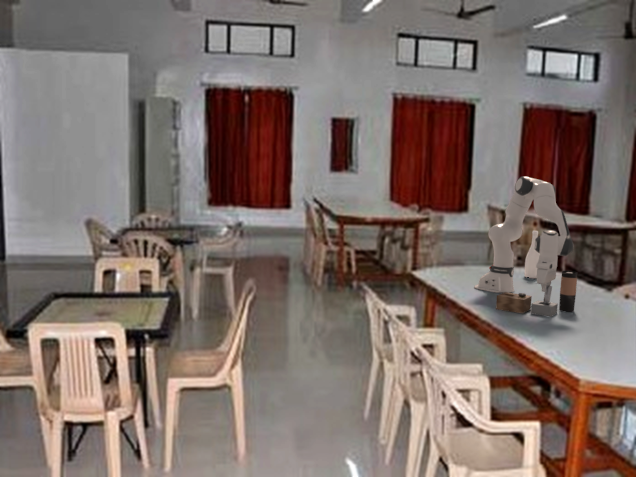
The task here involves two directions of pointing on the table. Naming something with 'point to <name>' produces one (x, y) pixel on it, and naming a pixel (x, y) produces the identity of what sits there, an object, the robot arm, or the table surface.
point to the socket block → (513, 302)
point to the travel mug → (568, 291)
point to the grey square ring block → (544, 308)
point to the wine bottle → (532, 259)
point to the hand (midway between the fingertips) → (545, 290)
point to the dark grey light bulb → (522, 295)
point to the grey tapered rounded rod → (547, 295)
